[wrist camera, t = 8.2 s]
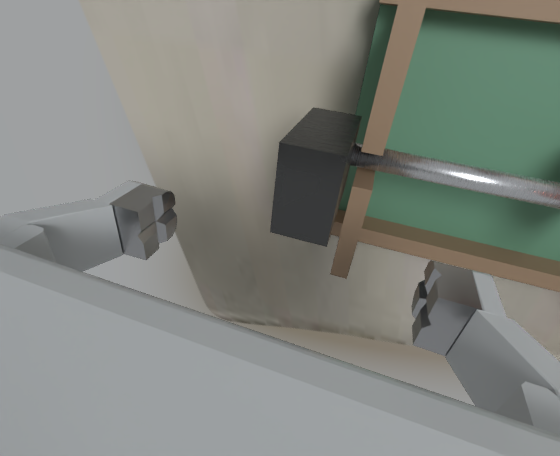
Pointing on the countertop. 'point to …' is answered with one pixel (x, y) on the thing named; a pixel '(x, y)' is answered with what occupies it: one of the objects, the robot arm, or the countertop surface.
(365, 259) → the countertop surface
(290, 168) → the rod
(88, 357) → the robot arm
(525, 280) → the pitch
